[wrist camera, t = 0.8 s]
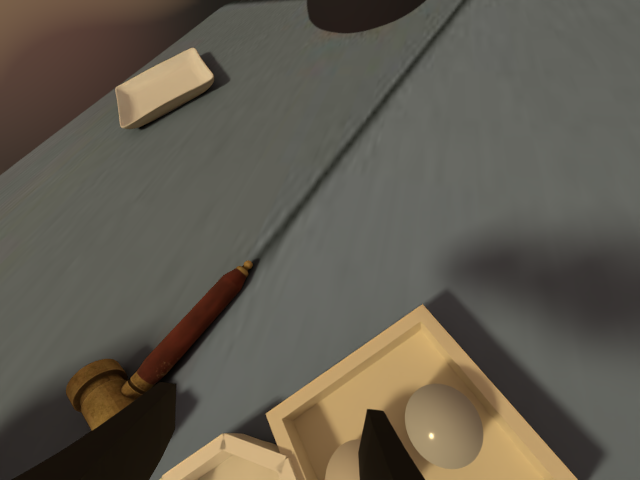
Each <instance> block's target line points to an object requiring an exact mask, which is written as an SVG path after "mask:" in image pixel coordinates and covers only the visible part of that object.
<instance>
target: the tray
mask: <svg viewBox="0 0 640 480" xmlns="http://www.w3.org/2000/svg"><path fill="white" fill-rule="evenodd" d="M429 384H444V385H448V386H450V387H453V388H455V389H457V390H458V391H460V392H461V393H462V394H464V395H465V396H466V397H467V398H468V399H469V400H470V401H471V403H472V404H473V405H474V407H475V408H476V410H477V412H478V414H479V416H480V419H481V422H482V426H483V444H482V447H481V450H480V452H479V454H478V456H477V457H476V459H475V460H474V461H473V462H472V463H470V464H469V465H467V466H465V467H463V468H459V469H445V468H441V467H438V466H436V465H434V464H432V463H430V462H429V461H427V460H426V459H425V458H424V457H423V456H422V455H420V453H419V452H418V451H417V450H416V449H415V447H414V446H413V444H412V442H411V440H410V438H409V436H408V433H407V430H406V425H405V411H406V406H407V403H408V401H409V399H410V397H411V396H412V395H413V393H414V392H415V391H417V390H418V389H419V388H421V387H423V386H425V385H429ZM367 409H374V410H382V411H384V412H385V414H386V416H387V417H388V419H389V421H390V423H391V425H392V426H393V428H394V430H395V432H396V433H397V435H398V437H399V439H400V440H401V442H402V444H403V445H404V447H405V449H406V450H407V452H408V454H409V455H410V457H411V458H412V460H413V461H414V463H415V465H416V466H417V468H418V469H419V471H420V472H421V474H422V475H423V477H424V478H425V480H578V479H577V478H576V477H575V476H574V475H573V474H572V473H571V471H570V470H569V469H568V468H567V467H566V466H565V465H564V464H563V462H562V461H561V460H560V459H559V458H558V457H557V456H556V455H555V453H554V452H553V451H552V450H551V449H550V448H549V447H548V445H547V444H546V443H545V442H544V441H543V440H542V439H541V438H540V436H539V435H538V434H537V433H536V432H535V431H534V430H533V429H532V427H531V426H530V425H529V424H528V423H527V422H526V421H525V419H524V418H523V417H522V416H521V415H520V414H519V413H518V412H517V410H516V409H515V408H514V407H513V406H512V405H511V404H510V403H509V401H508V400H507V399H506V398H505V397H504V396H503V395H502V393H501V392H500V391H499V390H498V389H497V388H496V387H495V386H494V384H493V383H492V382H491V381H490V380H489V379H488V378H487V377H486V375H485V374H484V373H483V372H482V371H481V370H480V369H479V367H478V366H477V365H476V364H475V363H474V362H473V361H472V360H471V358H470V357H469V356H468V355H467V354H466V353H465V352H464V351H463V349H462V348H461V347H460V346H459V345H458V344H457V343H456V341H455V340H454V339H453V338H452V337H451V336H450V335H449V334H448V332H447V331H446V330H445V329H444V328H443V327H442V326H441V325H440V323H439V322H438V321H437V320H436V319H435V318H434V317H433V315H432V314H431V313H430V312H429V311H428V310H427V309H426V308H425V306H424V305H423V304H422V305H421V306H419V307H418V308H416V309H415V310H414V311H412V312H411V313H409V314H408V315H406V316H405V317H403V318H402V319H401V320H399V321H398V322H396V323H395V324H393V325H392V326H391V327H389V328H388V329H386V330H385V331H383V332H382V333H381V334H379V335H378V336H376V337H375V338H373V339H372V340H371V341H369V342H368V343H366V344H365V345H363V346H362V347H361V348H359V349H358V350H356V351H355V352H353V353H352V354H350V355H349V356H348V357H346V358H345V359H343V360H342V361H340V362H339V363H338V364H336V365H335V366H333V367H332V368H330V369H329V370H328V371H326V372H325V373H323V374H322V375H320V376H319V377H318V378H316V379H315V380H313V381H312V382H310V383H309V384H307V385H306V386H305V387H303V388H302V389H300V390H299V391H297V392H296V393H295V394H293V395H292V396H290V397H289V398H287V399H286V400H285V401H283V402H282V403H280V404H279V405H277V406H276V407H275V408H273V409H272V410H270V411H269V412H267V413H266V417H267V419H268V422H269V425H270V427H271V430H272V432H273V435H274V438H275V440H276V443H277V446H278V448H279V451H280V453H282V454H284V455H287V456H288V458H290V460H291V462H292V465H293V467H294V470H295V473H296V475H297V478H298V480H325V476H326V470H327V466H328V463H329V460H330V458H331V457H332V455H333V453H334V452H335V451H336V450H337V448H339V447H340V446H341V445H342V444H344V443H345V442H348V441H351V440H356V439H361V436H362V431H363V426H364V422H365V417H366V412H367Z"/></svg>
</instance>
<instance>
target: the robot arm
mask: <svg viewBox="0 0 640 480" xmlns="http://www.w3.org/2000/svg"><path fill="white" fill-rule="evenodd" d="M175 406H176V384H172V383H164V382H159V383H158V384H156V385H155V386H154V387H152V388H151V389H149V390H148V391H147V392H145V393H144V394H143V395H141V396H140V397H139V398H137V399H136V400H134V401H133V402H132V403H130V404H129V405H128V406H126V407H125V408H124V409H122V410H121V411H119V412H118V413H117V414H115V415H114V416H112V417H111V418H110V419H108V420H107V421H105V422H104V423H103V424H101V425H100V426H98V427H97V428H95V429H94V430H92V431H91V432H89V433H88V434H86V435H85V436H83V437H82V438H80V439H79V440H77V441H76V442H74V443H73V444H71V445H70V446H68V447H67V448H65V449H63V450H62V451H60V452H59V453H57V454H55V455H54V456H52V457H50V458H49V459H47V460H45V461H44V462H42V463H40V464H38V465H37V466H35V467H33V468H32V469H30V470H28V471H26V472H25V473H23V474H21V475H19V476H17V477H16V478H14V479H12V480H149V479H150V477H151V475H152V474H153V472H154V470H155V469H156V467H157V465H158V463H159V462H160V460H161V458H162V456H163V454H164V452H165V450H166V448H167V445H168V443H169V441H170V439H171V437H172V434H173V432H174V430H175ZM358 459H359V477H360V480H425V478H424V477H423V475H422V474H421V472H420V471H419V469H418V468H417V466H416V465H415V463H414V461H413V460H412V458H411V457H410V455H409V454H408V452H407V450H406V449H405V447H404V445H403V444H402V442H401V440H400V439H399V437H398V435H397V433H396V432H395V430H394V428H393V426H392V425H391V423H390V421H389V419H388V417H387V416H386V414H385V412H384V411H382V410H374V409H367V412H366V417H365V422H364V426H363V431H362V436H361V441H360V446H359V451H358Z"/></svg>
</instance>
